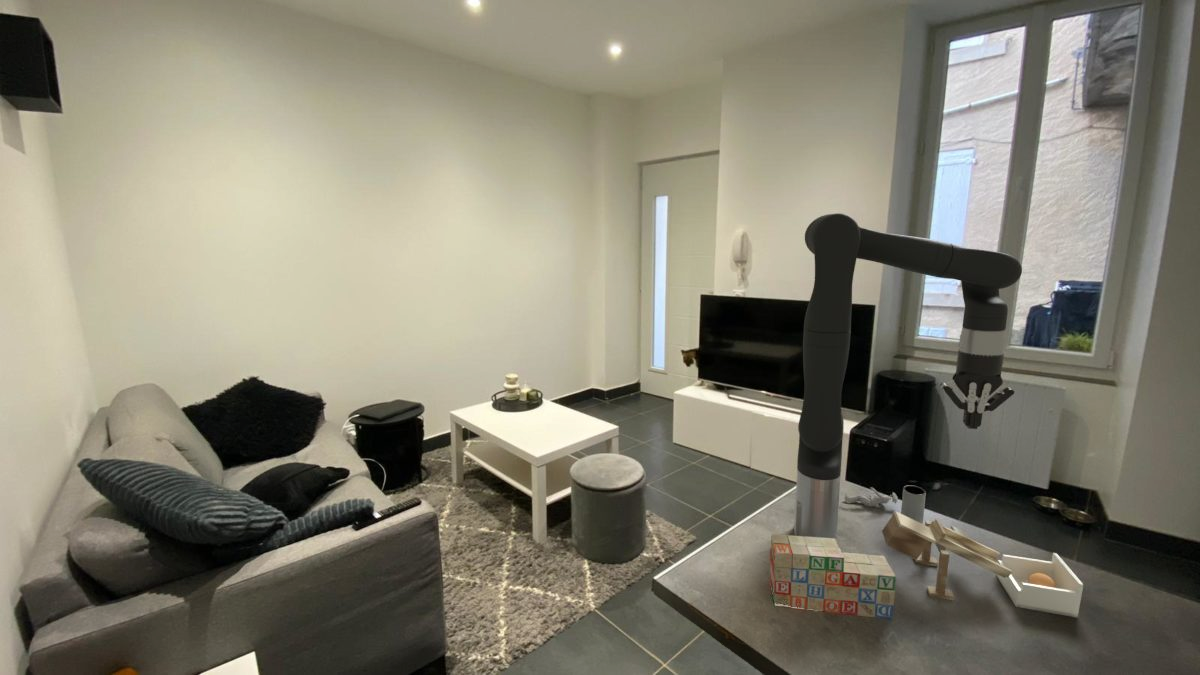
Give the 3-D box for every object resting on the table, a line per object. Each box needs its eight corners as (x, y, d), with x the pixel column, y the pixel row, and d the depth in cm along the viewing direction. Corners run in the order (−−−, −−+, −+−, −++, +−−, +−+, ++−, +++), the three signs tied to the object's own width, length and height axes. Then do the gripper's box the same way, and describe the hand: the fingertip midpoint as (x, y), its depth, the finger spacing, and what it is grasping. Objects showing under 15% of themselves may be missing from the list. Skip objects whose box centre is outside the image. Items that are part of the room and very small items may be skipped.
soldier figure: (842, 499, 133) (888, 487, 131) (851, 517, 130) (897, 505, 128) (844, 491, 127) (892, 479, 125) (853, 510, 124) (901, 497, 122)
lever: (888, 549, 99) (908, 519, 96) (876, 514, 111) (894, 487, 108) (992, 601, 94) (1017, 571, 91) (968, 559, 106) (990, 532, 103)
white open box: (1015, 606, 92) (1020, 574, 91) (996, 574, 101) (1000, 545, 99) (1077, 617, 89) (1083, 584, 88) (1051, 584, 97) (1056, 553, 96)
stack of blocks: (881, 596, 96) (885, 541, 94) (893, 620, 90) (898, 562, 88) (769, 584, 101) (770, 532, 98) (773, 607, 95) (775, 551, 92)
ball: (1055, 580, 91) (1064, 598, 91) (1044, 566, 95) (1053, 584, 95) (1030, 584, 93) (1039, 602, 93) (1021, 570, 96) (1029, 588, 97)
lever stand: (929, 596, 96) (934, 553, 94) (913, 557, 107) (917, 518, 105) (953, 600, 94) (958, 557, 92) (934, 560, 106) (939, 521, 104)
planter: (918, 524, 118) (922, 486, 116) (924, 535, 114) (928, 495, 112) (897, 521, 120) (901, 484, 118) (902, 532, 116) (906, 493, 114)
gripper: (948, 352, 99) (940, 431, 103) (1028, 355, 95) (1017, 437, 98) (937, 344, 106) (930, 418, 110) (1011, 346, 101) (1001, 423, 105)
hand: (971, 427), depth 104 cm, fingers closed
